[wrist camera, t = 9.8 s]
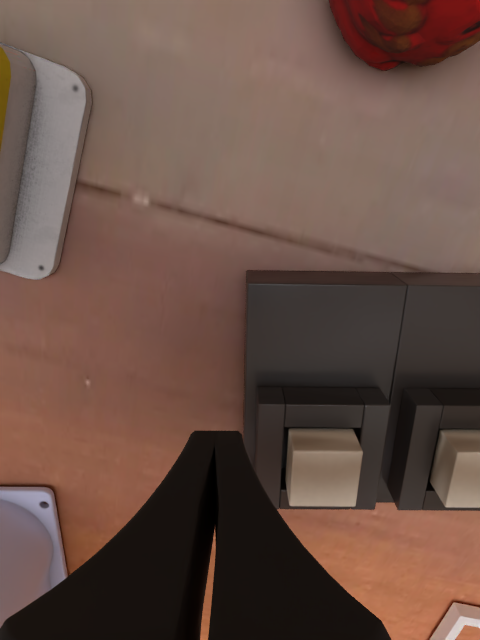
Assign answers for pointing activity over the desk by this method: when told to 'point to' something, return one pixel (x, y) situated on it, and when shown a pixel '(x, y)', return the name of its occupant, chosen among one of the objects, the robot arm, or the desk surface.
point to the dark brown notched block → (431, 383)
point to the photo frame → (457, 621)
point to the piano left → (319, 367)
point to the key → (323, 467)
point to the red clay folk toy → (407, 29)
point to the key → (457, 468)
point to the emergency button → (38, 158)
